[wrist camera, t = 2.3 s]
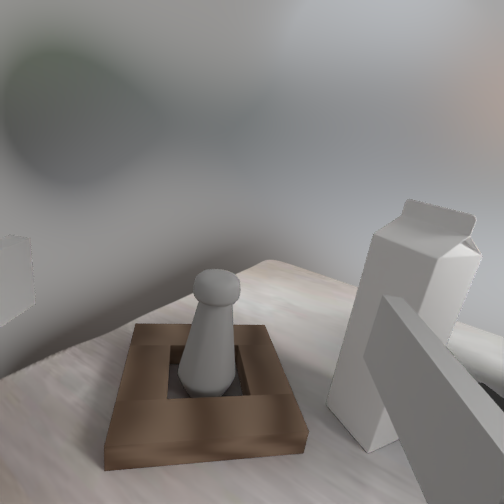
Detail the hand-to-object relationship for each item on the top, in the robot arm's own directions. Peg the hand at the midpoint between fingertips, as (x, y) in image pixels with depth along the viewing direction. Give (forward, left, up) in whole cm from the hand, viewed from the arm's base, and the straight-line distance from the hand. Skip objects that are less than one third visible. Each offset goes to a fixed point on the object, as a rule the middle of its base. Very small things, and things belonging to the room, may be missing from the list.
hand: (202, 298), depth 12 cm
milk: (-19, -11, -19) cm, 29 cm away
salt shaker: (-3, -16, -19) cm, 25 cm away
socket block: (-3, -16, -19) cm, 25 cm away
